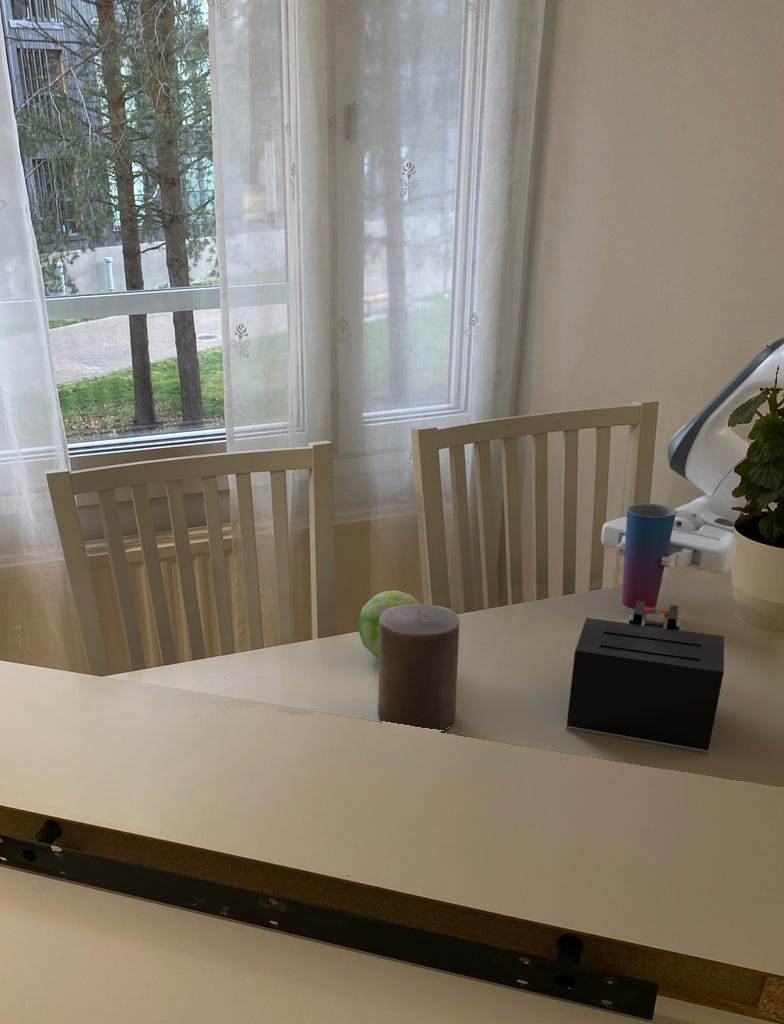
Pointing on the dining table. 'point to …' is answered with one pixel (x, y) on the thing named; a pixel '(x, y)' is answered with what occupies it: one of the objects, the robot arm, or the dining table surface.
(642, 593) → the cup
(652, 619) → the lever
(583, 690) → the toaster
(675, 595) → the dining table surface
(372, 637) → the decorative ball
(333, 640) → the dining table surface
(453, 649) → the pillar candle
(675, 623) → the bracket
